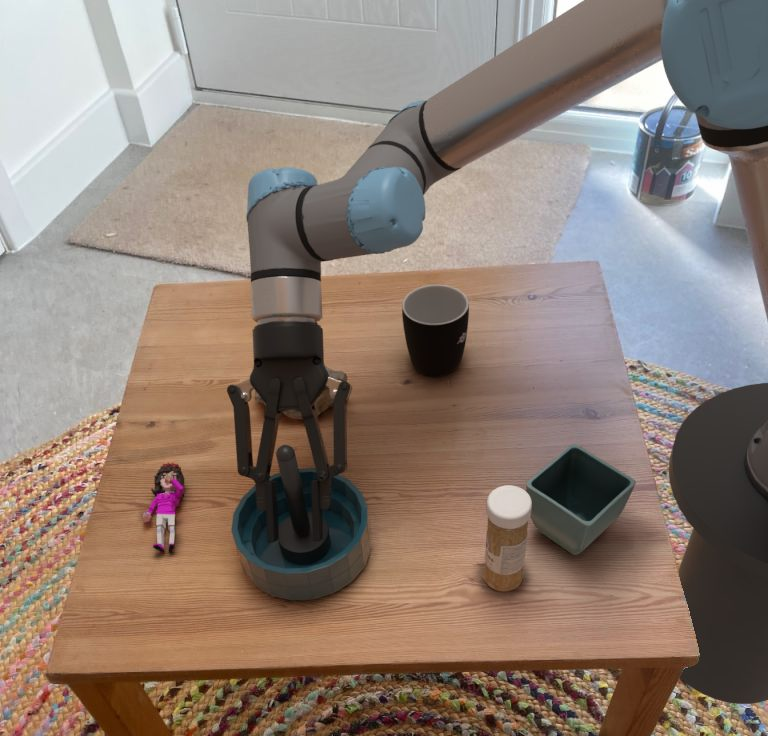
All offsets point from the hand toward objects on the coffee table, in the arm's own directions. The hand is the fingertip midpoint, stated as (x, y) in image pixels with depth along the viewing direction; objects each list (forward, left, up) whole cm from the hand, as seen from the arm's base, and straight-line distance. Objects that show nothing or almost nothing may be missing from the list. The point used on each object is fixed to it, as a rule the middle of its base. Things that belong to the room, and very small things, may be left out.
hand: (295, 539), depth 92 cm
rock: (+28, -7, -7) cm, 29 cm away
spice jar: (-8, -21, -7) cm, 24 cm away
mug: (+31, -28, -7) cm, 42 cm away
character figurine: (+15, +14, -7) cm, 21 cm away
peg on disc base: (+4, -1, -6) cm, 7 cm away
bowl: (+4, -1, -7) cm, 8 cm away
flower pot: (-6, -31, -7) cm, 33 cm away
